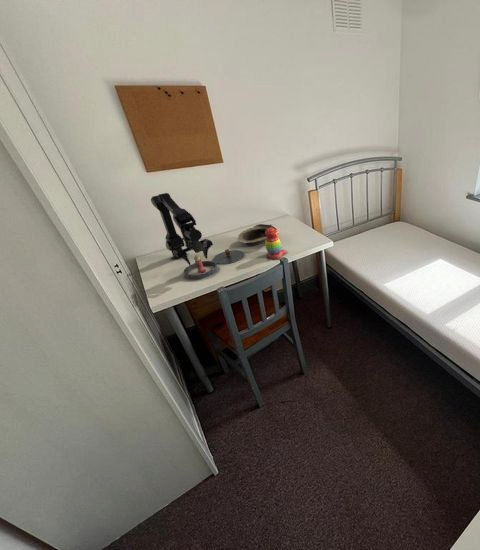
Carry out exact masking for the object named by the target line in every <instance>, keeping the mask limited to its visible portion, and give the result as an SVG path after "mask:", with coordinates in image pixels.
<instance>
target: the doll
mask: <svg viewBox="0 0 480 550" xmlns="http://www.w3.org/2000/svg"><path fill="white" fill-rule="evenodd" d="M193 260H194V263H196V266H197V267H196V268H197V269H196V270H197V273H198V274H203V273H206V271H207V270H206V268H205V267H204V266H205V265H204V266H203V264H202V261H203V260H202V259H201V257H200V255H195V256H194V257H193Z"/></svg>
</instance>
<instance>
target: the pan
mask: <svg viewBox="0 0 480 550" xmlns="http://www.w3.org/2000/svg"><path fill="white" fill-rule="evenodd" d="M201 261H202V264H203V266H213V268H212V269H210V270H208V271H207V272H204V273H198V274H189V272H191V271H192V270H194V269H196V268H197V266H196V263H195V262H194V263H192V264H191V265H189V264H188V265H187V266H186V267H185V268H184V270H183V274H184V276H185V278H186V279H188V280H192V281H193V280H195V281H197V280H202V279H207V278H209V277H211V276H213V275H215V274H216V273H217V272H218V270H219V266H218V264H217V263H216V262H214V261H213V260H201Z"/></svg>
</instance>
